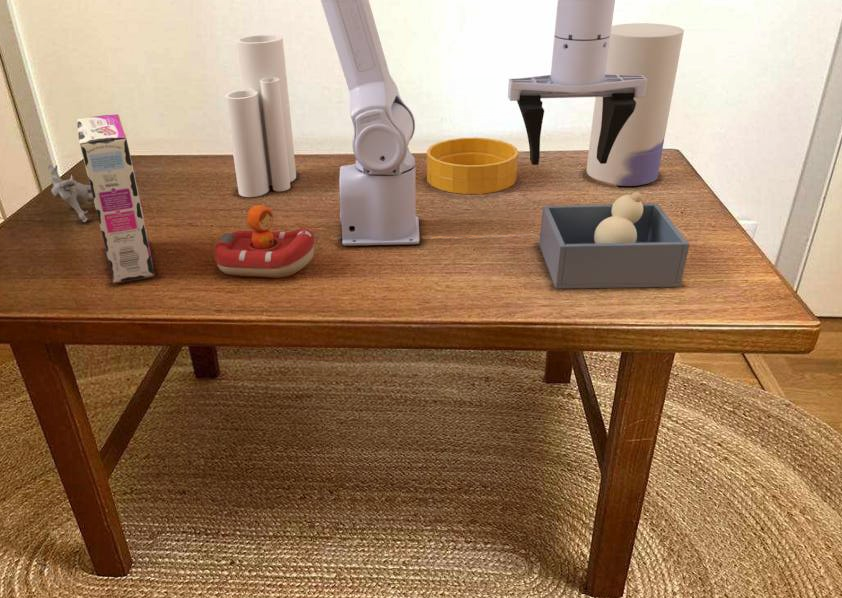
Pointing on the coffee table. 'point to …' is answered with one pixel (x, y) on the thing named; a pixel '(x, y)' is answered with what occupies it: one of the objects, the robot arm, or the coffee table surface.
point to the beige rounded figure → (621, 221)
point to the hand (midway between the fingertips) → (567, 161)
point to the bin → (611, 249)
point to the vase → (261, 117)
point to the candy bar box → (115, 197)
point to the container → (638, 102)
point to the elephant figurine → (71, 191)
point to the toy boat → (264, 248)
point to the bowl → (472, 165)
